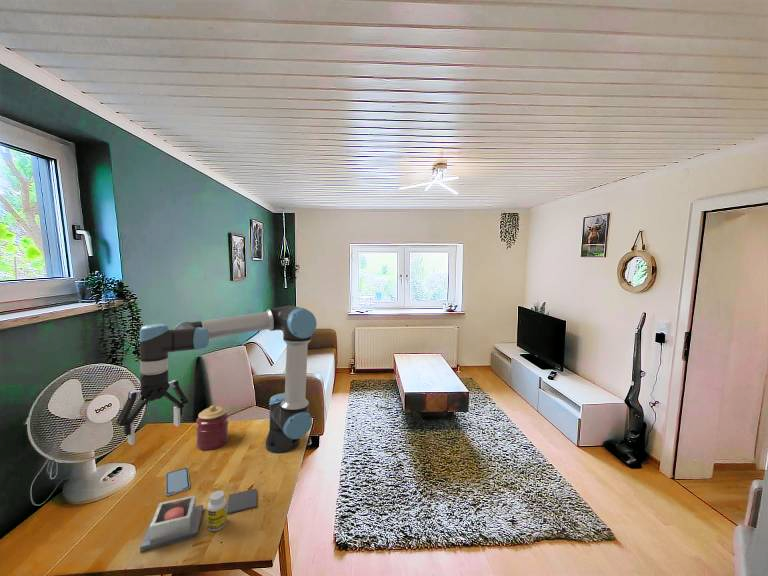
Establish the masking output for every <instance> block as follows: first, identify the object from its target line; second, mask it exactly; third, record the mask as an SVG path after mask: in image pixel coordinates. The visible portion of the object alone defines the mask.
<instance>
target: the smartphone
mask: <svg viewBox="0 0 768 576" xmlns="http://www.w3.org/2000/svg"><path fill="white" fill-rule="evenodd" d="M190 481H191V480H190V475H189V467H183V468H180V469H175V470H172V471H169V472H166V473H165V496H166V497H169V496H172V495H177V494H180V493H182V492H185V491H188V490H190V489H191V483H190Z"/></svg>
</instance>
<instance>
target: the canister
mask: <svg viewBox="0 0 768 576" xmlns="http://www.w3.org/2000/svg"><path fill="white" fill-rule="evenodd" d="M228 417H229V413H227V409H226V408H224V407H222V406H216V405H214V404H213V405H210V406H209V407H207V408H205V409H203V410H202V411H200V412H199V413H198V416H197V418H196V419H195V422H196V424H197V426H196V428H195V429H196V441H195V442H196V447H197V449H199V450H201V451H211V450H216V449H219V448H220V447H222V446H224V445H225V444H226V443H227V442H228V440H229V420H228Z"/></svg>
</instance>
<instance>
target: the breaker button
mask: <svg viewBox="0 0 768 576" xmlns="http://www.w3.org/2000/svg"><path fill="white" fill-rule="evenodd" d="M183 516H184V509H183V508H182V507H176V508H173V509H171V510H169V511H168V512H167V513H166V514H165V516H164V521H167V520H171V519H175V518H180V517H183Z"/></svg>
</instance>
